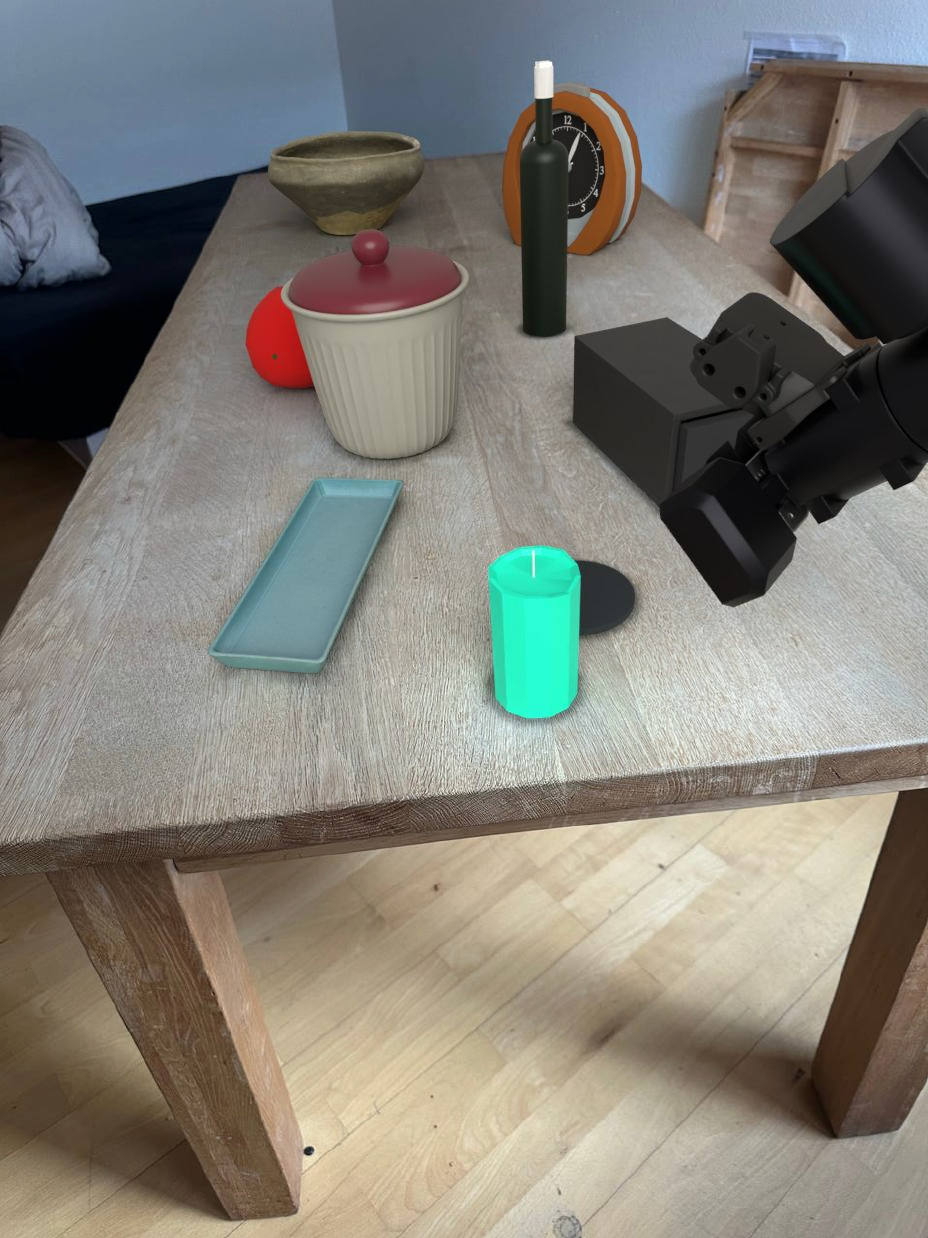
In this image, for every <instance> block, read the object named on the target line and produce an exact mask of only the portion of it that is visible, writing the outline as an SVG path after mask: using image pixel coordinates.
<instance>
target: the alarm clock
mask: <svg viewBox="0 0 928 1238" xmlns="http://www.w3.org/2000/svg"><path fill="white" fill-rule="evenodd" d="M552 139H553V140H557V141H559V142H561V143H562V144H563V145H564V146H565V147H566V149H567V151H568V155H569V168H568V239H567V253H570V254H575V255H576V254H577V255H583V256H584V255H585V256H589V255H592V254H594V253H596V252H598V251H599V250H601V249H604V248H605V246H606V245H608V244H612V243H614V242H616V241H618V240H619V239H620V238H621V237H622V236H623V235H624V234H625V233H626V232H627V230H628V228H629V227H630V225H631V223H632V221H633V220H634V218H635V215H636V212H637V209H638V205H639V201H640V198H641V194H642V180H643V179H642V178H643V177H642V176H643V163H642V157H641V151H640V146H639V139H638V135H637V133H636V131H635V129H634V127H633V124H632V122H631V120H630V118H629V116H628V114H627V111H626V110H625V109H624V108H623V107H622V106H621V105H620V104H619V103H618V102H617V101H616V100H614V98H613V97H612V96H611V95H609V94H608V92H606V91H603V90H599V89H596V88H593V87H591V86H590V84H586V83H584V82H579V81H567V82H563V83H562V82H561V83H557V84H554V85H553V102H552ZM535 140H536V132H535V100H534V101H533V102H532V103H531V104H529V106H527V107H526V108H525V109H524V110H523V111H522V112H521V113H520V114H519V116H518V119H517V121H516V122H515V125H514V127H513V129H512V131H511V133H510V136H509V137H508V141H507V147H506V152H505V156H504V161H503V164H502V165H503V167H502V183H501V184H502V185H501V186H502V187H501V193H502V202H503V210H504V217H505V221H506V223H507V226H508V229H509V230H508V231H509V233H510V235H511V237H512V239H513V240H514V243H515V244H516V245H518V246H521V206H520V154H521V152H522V150H523V148H524V147H525V146H526V145H527V144H528V143H530V142H532V141H535Z"/></svg>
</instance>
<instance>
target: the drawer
mask: <svg viewBox="0 0 928 1238" xmlns="http://www.w3.org/2000/svg"><path fill="white" fill-rule="evenodd" d="M753 416H754V415H752V414H750V413H748V412H747V411H745V410H744V409H742V408H739V409H729V410H725V411H721V412H716V413H712V414H708V415H704V416H699V417H695V418H691V419H686V420H682V421H681V424H680V433H679V443H678V452H677V461H676V470H675V479H674V489H673V491H674V490H675V489H676V488H677V487H678V486H679V485H680V484H681V483H682V482H683V481H684V480H686V479H687V478H688V477H690V476H691V475H693V474H694V473H695V472H697V471H698V470H699V469H701V468H702V467H704V466H705V463H706V461H707V459H708V458H709V457H710V456H711V455H712V454H713V453H714V452H715V451H717V450H718V449H719V448H720V447H721V446H722V445H723V444H724V443H725V442H726V441H729V443H730V444H731V446H732V447H733V449H734V447H735V442H736V437H737V432H738V430H739V429H740V428H741V427H742V426H743V425H744V424H745V423H746V422H747V421H749V420H750V419H751V418H752V417H753Z"/></svg>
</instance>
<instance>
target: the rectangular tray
mask: <svg viewBox="0 0 928 1238" xmlns="http://www.w3.org/2000/svg"><path fill="white" fill-rule="evenodd" d="M404 485H405V483H404V480H402V479H389V478H387V479H383V478H351V477H316V478H314V479H313V480H312V481H311V482H310V484H309V486H308V488H307V489H306V491H305V493H304V494H303V496H302V497H301V499H300V501H299V502H298V504H297V505H296V508H295V509H294V511H293V512H292V514H291V516H290V517H289V519H288V520H287V522H286V524H285V525H284V527H283V529H282V530H281V532H280V534H279V535H278V537H277V538H276V540H275V542H273V544H272V546H271V548H270V549H269V551H268V552H267V555H266V556H265V557H264V558H263V561H262V562H261V564H260V565H259V566H258V569H257V570H256V572H255V574H254V575H253V577H252V579H251V580H250V581H249V583H248V585H247V586H246V588H245V590H244V592H243V593H242V595H241V596H240V598H239V600H238V601H237V602H236V604H235V606H234V608H233V609H232V611H231V612H230V614H229V616H228V617H227V619H226V620H225V622H224V624H223V625H222V626H221V628H220V630H219V632H217V634H216V636H215V637H214V639H213V641H212V642H211V644H210V645H209V646H208V648H207V654H208V655H209V656H210V657H212V658H213V659H215V660H216V661H218V662H220V663H222V664H223V665H225V666H227V667H229V668H233V669H234V668H235V669H250V670H260V671H261V670H263V671H273V672H274V671H275V672H289V673H300V674H301V673H302V674H318V673H320V672H321V671H322V670H323V668H324V665H325V663H326V661H327V659H328V657H329V654H330V652H331V650H332V647H333V646H334V644H335V641H336V639H337V638H338V635H339V633H340V630H341V629H342V626H343V625H344V621H345V620H346V617H347V615H348V613H349V610H350V608H351V606H352V604H353V602H354V600H355V598H356V595H357V593H358V590H359V588H360V586H361V583H362V581H363V579H364V576H365V574H366V572H367V570H368V568H369V567H370V563H371V561H372V559H373V557H374V554H375V552H376V550H377V548H378V546H379V543H380V540H381V538H382V536H383V534H384V531H385V529H386V528H387V527H386V526H387V525H388V522H389V520H390V518H391V515H392V514H393V511H394V509H395V507H396V505H397V502H398V500H399V497H400V495H401V492H402V490H403V487H404Z"/></svg>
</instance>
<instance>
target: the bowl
mask: <svg viewBox="0 0 928 1238" xmlns="http://www.w3.org/2000/svg"><path fill="white" fill-rule="evenodd" d="M269 157H270V159H269V162H268V167H267V178H268V181H269V183H270V184H271V185H272V187H274V188H275V189H276V190H277V191H279V192H280V193H281V194H282V195H284V196H285V197H286V198H287V199H289V200H290V201H291V202H292V203H294V204H295V205H296V206H297V207H298V208H299V209H300V210H301V211H302V212H303V213H304V214H305V215H306V216H308V218H309V219H310V220H311V221H313V222H314V223H315V225H316V226H318V228H319V229H320V230H321V231H322V232H325V233H327V234H330V235H335V236H353V235H356V234H357V233H358V232H360V231H363V230H367V229H375V230H380V229H381V228H382V227H383V226H384V225H385V223H386V222H387V221H388V219H389V218H390V217H391V215H392V214H393V213H394V211H395V210H396V209H397V207H398V206H399V205H400V204H401V203H402V202H403V200H405V199H406V198H407V197H408V195H409V194H410V193H411V192H412V191H413V190H414V188H415V187H416V186H417V184H418V183H419V181H420V180H421V179H422V177H423V174H424V170H425V159H424V156H423V151H422V149H421V143H420V142H419V140H418V139H417V138H415V137H413V136H410V135H405V134H402V133H398V132H391V131H372V130H371V131H365V130H364V131H359V130H357V131H356V130H346V131H334V132H326V133H321V134H318V135H312V136H306V137H301V138H297V139H294V140H291V141H289V142H287V143H286V144H283V145H281V146H279V147H276V148H274V149H272V150H271V152H270V156H269Z"/></svg>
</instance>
